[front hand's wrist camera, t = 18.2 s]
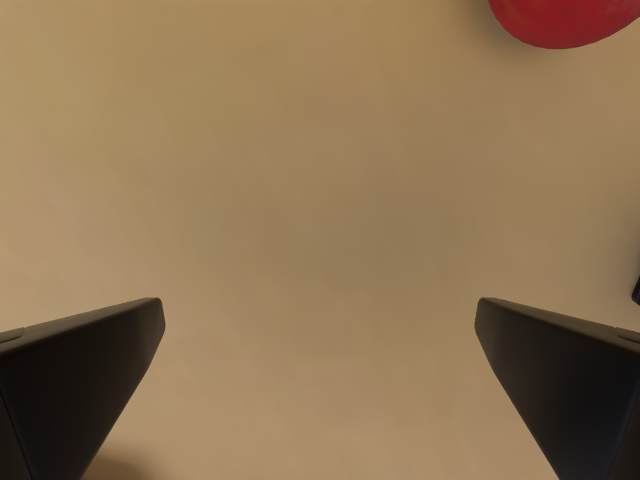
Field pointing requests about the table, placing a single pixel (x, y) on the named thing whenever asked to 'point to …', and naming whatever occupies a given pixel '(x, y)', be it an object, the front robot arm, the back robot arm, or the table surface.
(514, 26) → the eyeball
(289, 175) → the table surface
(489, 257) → the table surface
